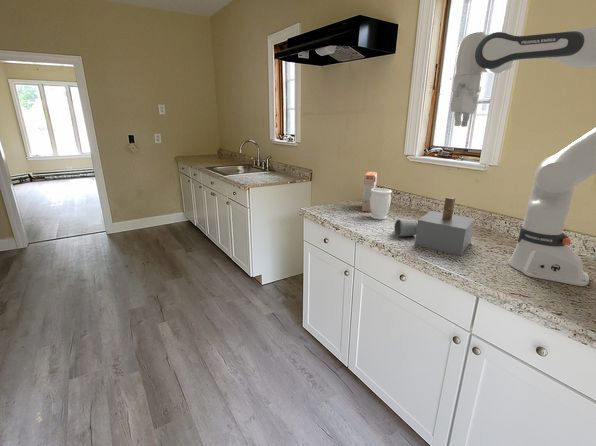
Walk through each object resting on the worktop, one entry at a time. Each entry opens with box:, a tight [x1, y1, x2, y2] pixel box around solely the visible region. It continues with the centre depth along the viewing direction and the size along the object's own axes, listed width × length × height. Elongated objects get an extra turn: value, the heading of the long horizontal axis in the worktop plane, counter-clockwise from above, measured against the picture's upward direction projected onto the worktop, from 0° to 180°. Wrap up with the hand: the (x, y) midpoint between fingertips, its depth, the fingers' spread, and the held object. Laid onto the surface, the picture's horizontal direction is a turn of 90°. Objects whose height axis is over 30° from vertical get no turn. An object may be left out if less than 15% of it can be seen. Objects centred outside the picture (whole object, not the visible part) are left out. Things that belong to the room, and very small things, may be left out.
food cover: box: [414, 196, 476, 257], centre depth 131 cm, size 18×18×20 cm
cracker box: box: [361, 171, 378, 213], centre depth 182 cm, size 14×6×21 cm, turn 161°
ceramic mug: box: [393, 218, 418, 237], centre depth 144 cm, size 11×8×8 cm
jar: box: [370, 187, 393, 220], centre depth 167 cm, size 11×10×15 cm
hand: (460, 126), depth 117 cm, fingers open, 8 cm apart
